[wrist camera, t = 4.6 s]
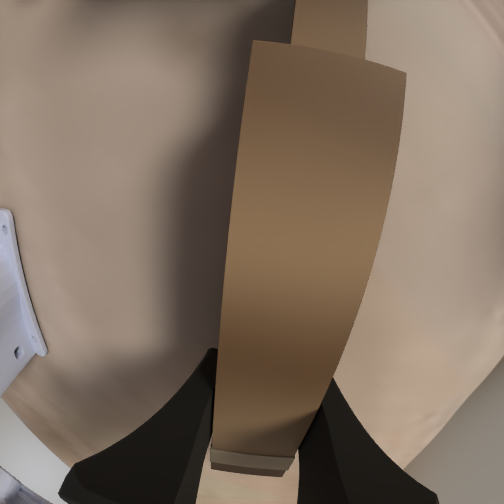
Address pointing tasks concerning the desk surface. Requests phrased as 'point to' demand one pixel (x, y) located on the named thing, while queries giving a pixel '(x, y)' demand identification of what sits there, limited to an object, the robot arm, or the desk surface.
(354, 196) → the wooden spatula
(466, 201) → the desk surface
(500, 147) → the desk surface
